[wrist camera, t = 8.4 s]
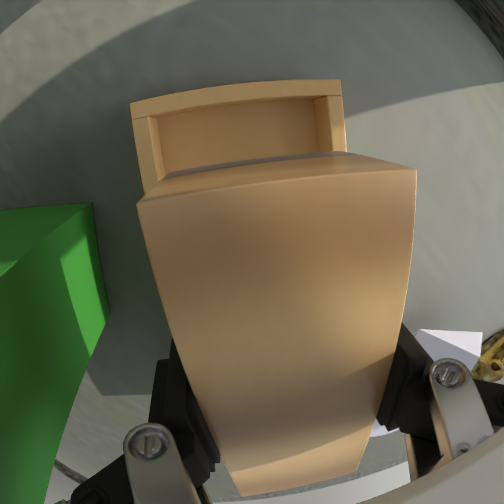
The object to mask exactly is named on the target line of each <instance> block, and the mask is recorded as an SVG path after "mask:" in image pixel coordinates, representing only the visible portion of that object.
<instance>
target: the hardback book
mask: <svg viewBox="0 0 504 504" xmlns="http://www.w3.org/2000/svg"><path fill="white" fill-rule="evenodd" d="M109 315H110V309H109V305H108V300H107V295H106V291H105V286H104V280H103V275H102V270H101V264H100V258H99V252H98V245H97V238H96V230H95V222H94V214H93V204H92V202H91V203H75V204H61V205H48V206H36V207H25V208H15V209H6V210H0V504H44V501H45V497H46V492H47V488H48V484H49V479H50V476H51V472H52V468H53V465H54V461H55V458H56V454H57V451H58V447H59V444H60V441H61V438H62V434H63V431H64V428H65V425H66V422H67V419H68V416H69V413H70V410H71V408H72V405H73V402H74V399H75V397H76V394H77V391H78V388H79V386H80V383H81V381H82V378H83V376H84V373H85V370H86V368H87V365H88V363H89V361H90V358H91V356H92V353H93V351H94V349H95V346H96V344H97V342H98V339H99V337H100V335H101V333H102V330H103V328H104V326H105V324H106V321H107V319H108V317H109Z"/></svg>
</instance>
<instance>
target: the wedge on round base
mask: <svg viewBox="0 0 504 504" xmlns="http://www.w3.org/2000/svg"><path fill="white" fill-rule="evenodd" d="M415 339H416V340H417V341H418V342H419V343H420V345H421V346H422V347H423V348H424V349H425V351H426V352H427V353H428V354H429V356H430V357H431V358H432V359H433V361H434V362H435V361H437V360H439V359H442V358H453V359H457V360H459V361H461V362H462V363H464V364H465V365H466V366H467V368H468V369H469V371H471V370H472V368H473V367H474V366H475V364H476V363H477V361H478V360H479V358H480V354H481V344H482V332H461V331H442V330H426V329H419V330H418V332H417V334H416V336H415ZM398 429H399V428H397V429H394V430H392V431H389V432H388V431H387V429H386V427H385V425H383V426H381V425H380V424H379V423H378V421H377V419H376V420H375V423H374V426H373V429H372V431H371V434H370V437H374V436H381V435H385V434H388V433H391V432H394V431H396V430H398Z"/></svg>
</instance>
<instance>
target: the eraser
mask: <svg viewBox="0 0 504 504" xmlns="http://www.w3.org/2000/svg"><path fill="white" fill-rule="evenodd" d="M416 177H417V171H416V169H414V168H410V167H407V166H403V165H399V164H396V163H392V162H388V161H384V160H380V159H376V158H372V157H368V156H364V155H357V154H353V153H349V152H344V151H331V152H317V153H305V154H294V155H284V156H274V157H266V158H257V159H249V160H242V161H234V162H227V163H220V164H214V165H208V166H201V167H195V168H190V169H184V170H178V171H173V172H169V173H168V174H167V175H166V176H165V177H164V178H163V179H161V180H159V181H158V182H157V183H156V184H155V185H154V186H153V187H152V188H151V189H150V190H149V191H148V192H147V193H146V194H145V195H144V196H143V197H142V198H141V199H140V200H139V201H138V202H137V203H136V208H137V212H138V217H139V221H140V225H141V229H142V233H143V238H144V242H145V245H146V249H147V253H148V257H149V261H150V264H151V268H152V272H153V275H154V279H155V282H156V286H157V289H158V292H159V296H160V299H161V302H162V306H163V309H164V312H165V315H166V318H167V321H168V324H169V327H170V330H171V333H172V336H173V339H174V342H175V345H176V348H177V351H178V354H179V356H180V359H181V362H182V365H183V367H184V370H185V373H186V375H187V378H188V381H189V383H190V386H191V388H192V391H193V394H194V396H195V397H196V399H197V402H198V404H199V407H200V409H201V411H202V414H203V416H204V419H205V421H206V423H207V426H208V428H209V430H210V432H211V435H212V437H213V439H214V441H215V444H216V446H217V448H218V450H219V452H220V456H221V458H222V460H223V462H224V464H225V466H226V468H227V470H228V472H229V474H230V476H231V478H232V480H233V482H234V484H235V486H236V488H237V490H238V492H239V494H240V496H248V495H255V494H262V493H268V492H274V491H280V490H285V489H290V488H295V487H300V486H304V485H308V484H313V483H317V482H321V481H324V480H328V479H332V478H335V477H339V476H342V475H345V474H348V473H351V472H355V471H356V470H357V468H358V465H359V463H360V460H361V458H362V455H363V453H364V450H365V448H366V445H367V442H368V440H369V437H370V434H371V431H372V429H373V426H374V423H375V420H376V416H377V413H378V410H379V407H380V404H381V401H382V397H383V394H384V390H385V387H386V383H387V380H388V376H389V372H390V369H391V365H392V361H393V357H394V353H395V350H396V345H397V341H398V336H399V332H400V327H401V322H402V316H403V311H404V305H405V300H406V293H407V287H408V280H409V273H410V265H411V257H412V247H413V237H414V224H415V208H416Z"/></svg>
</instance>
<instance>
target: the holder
mask: <svg viewBox="0 0 504 504" xmlns="http://www.w3.org/2000/svg"><path fill="white" fill-rule="evenodd" d="M341 95H342V89H341V81H340V80H339V79H300V80H276V81H261V82H249V83H239V84H230V85H222V86H215V87H208V88H201V89H195V90H189V91H183V92H178V93H173V94H168V95H163V96H158V97H154V98H149V99H145V100H141V101H137V102H133V103H130V112H131V119H132V126H133V133H134V139H135V145H136V151H137V157H138V163H139V168H140V174H141V179H142V184H143V189H144V194H146V193H147V192H148V191H149V190H150V189H151V188H152V187H153V186H154V185H155V184H156V183H157V182H158V181H159V180H161V179H163V178H164V177H165V176H166V175H167V174H168V173H169V172H173V171H178V170H184V169H190V168H195V167H201V166H208V165H214V164H220V163H227V162H234V161H242V160H249V159H257V158H266V157H274V156H284V155H294V154H305V153H317V152H331V151H344V152H347V150H346V136H345V123H344V112H343V102H342V96H341Z"/></svg>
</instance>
